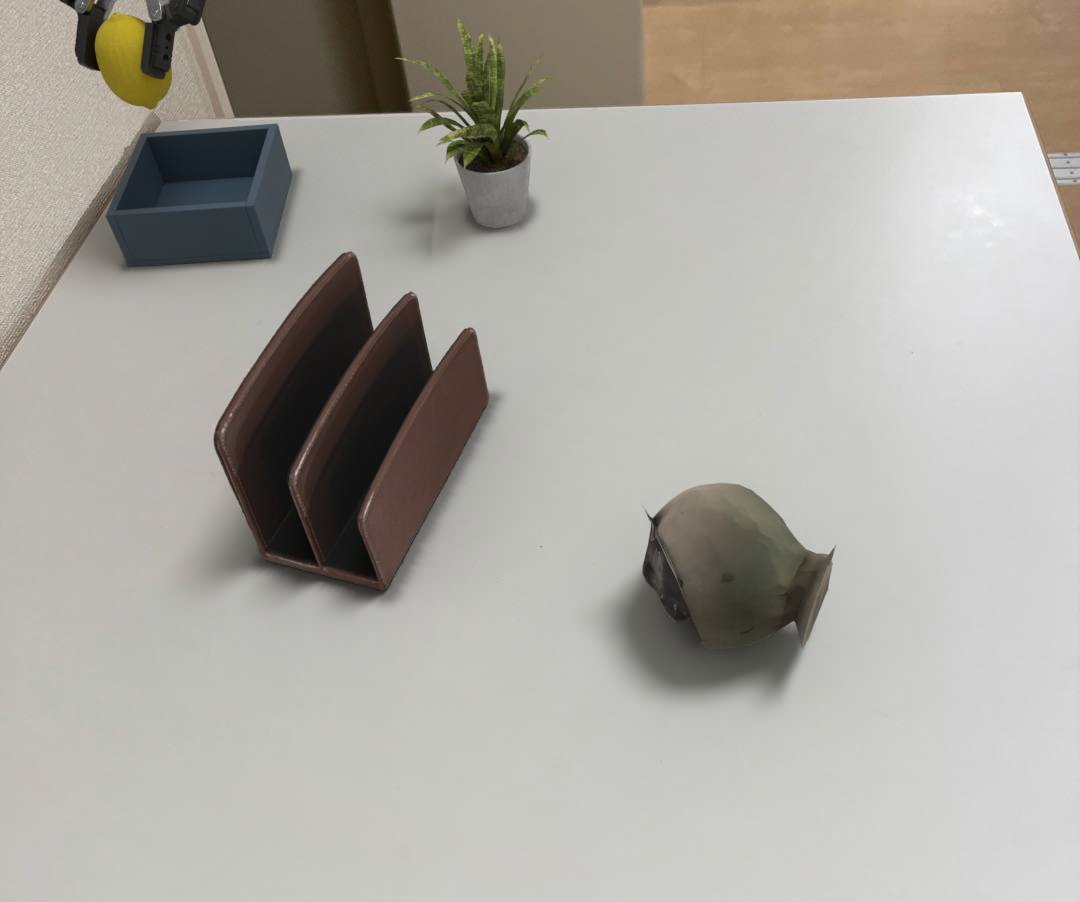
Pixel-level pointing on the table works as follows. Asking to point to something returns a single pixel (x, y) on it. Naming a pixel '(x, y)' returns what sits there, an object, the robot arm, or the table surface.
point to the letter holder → (347, 431)
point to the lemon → (127, 62)
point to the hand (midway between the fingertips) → (121, 71)
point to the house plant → (487, 136)
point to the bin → (201, 196)
